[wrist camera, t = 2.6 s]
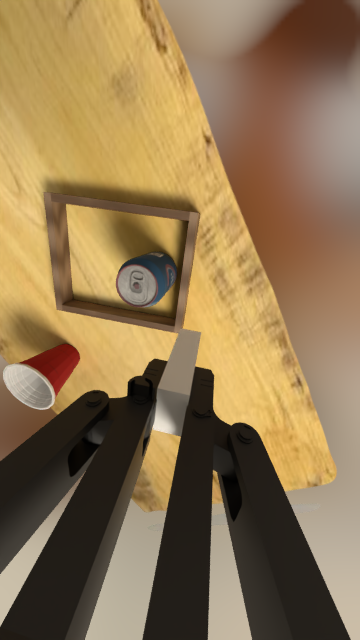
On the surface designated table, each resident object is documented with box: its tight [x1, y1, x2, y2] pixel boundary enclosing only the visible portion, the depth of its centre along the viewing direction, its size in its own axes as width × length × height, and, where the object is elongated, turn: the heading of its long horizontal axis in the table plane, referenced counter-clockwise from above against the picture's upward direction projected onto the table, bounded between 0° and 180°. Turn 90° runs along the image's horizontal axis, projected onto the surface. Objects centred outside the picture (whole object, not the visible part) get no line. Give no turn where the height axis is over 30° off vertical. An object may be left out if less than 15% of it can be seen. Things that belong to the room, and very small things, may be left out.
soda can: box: [116, 252, 177, 307], centre depth 33 cm, size 7×7×12 cm
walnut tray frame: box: [44, 192, 200, 333], centre depth 38 cm, size 20×25×4 cm
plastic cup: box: [3, 344, 80, 410], centre depth 45 cm, size 11×11×12 cm
